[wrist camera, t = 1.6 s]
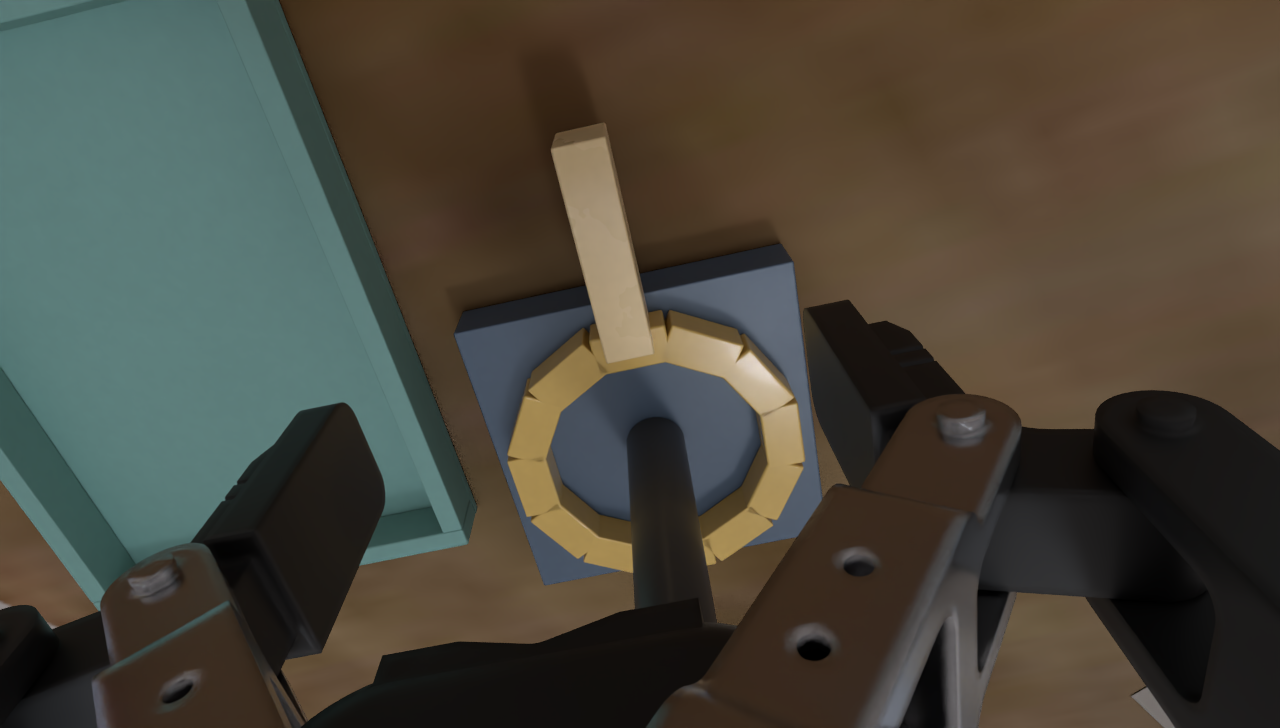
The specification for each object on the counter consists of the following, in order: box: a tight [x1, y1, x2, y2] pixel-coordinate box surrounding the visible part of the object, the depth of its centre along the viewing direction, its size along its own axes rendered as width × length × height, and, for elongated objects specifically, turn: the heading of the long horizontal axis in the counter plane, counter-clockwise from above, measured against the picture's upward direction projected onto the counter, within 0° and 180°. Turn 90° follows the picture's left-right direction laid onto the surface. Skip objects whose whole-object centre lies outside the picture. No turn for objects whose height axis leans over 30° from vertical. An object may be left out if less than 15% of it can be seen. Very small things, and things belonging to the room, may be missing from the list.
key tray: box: [0, 0, 477, 611], centre depth 26 cm, size 22×16×2 cm
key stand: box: [454, 244, 823, 623], centre depth 21 cm, size 12×12×20 cm
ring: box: [507, 123, 805, 573], centre depth 26 cm, size 17×11×2 cm, turn 12°
